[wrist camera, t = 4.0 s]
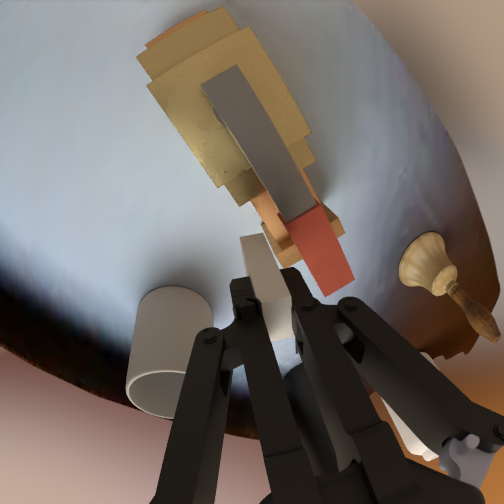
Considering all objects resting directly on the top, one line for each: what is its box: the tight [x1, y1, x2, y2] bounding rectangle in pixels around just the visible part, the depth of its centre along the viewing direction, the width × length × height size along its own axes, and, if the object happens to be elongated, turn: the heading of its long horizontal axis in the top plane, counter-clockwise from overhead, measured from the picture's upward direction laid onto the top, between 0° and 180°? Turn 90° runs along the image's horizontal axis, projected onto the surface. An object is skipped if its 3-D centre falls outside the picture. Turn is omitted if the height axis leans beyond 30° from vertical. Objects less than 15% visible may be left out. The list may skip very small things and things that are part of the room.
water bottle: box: [283, 363, 339, 476], centre depth 32 cm, size 10×10×23 cm
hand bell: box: [399, 232, 501, 344], centre depth 28 cm, size 8×8×16 cm
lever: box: [200, 64, 355, 297], centre depth 17 cm, size 15×2×4 cm, turn 30°
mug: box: [126, 286, 214, 419], centre depth 28 cm, size 12×8×11 cm
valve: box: [136, 7, 345, 269], centre depth 20 cm, size 20×7×7 cm, turn 30°
